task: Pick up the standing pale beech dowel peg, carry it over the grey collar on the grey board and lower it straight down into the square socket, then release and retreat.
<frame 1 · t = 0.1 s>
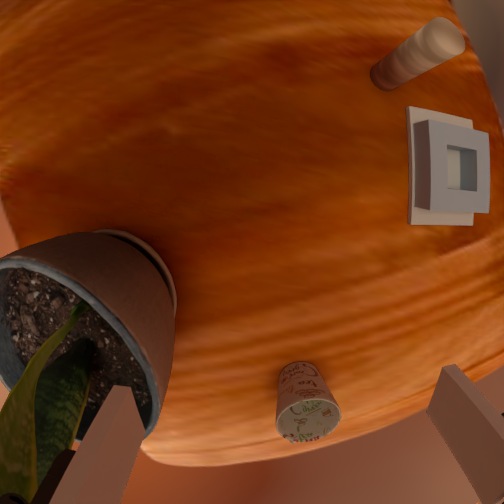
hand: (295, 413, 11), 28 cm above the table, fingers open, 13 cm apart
socket: (442, 168, 35), on the table
peg: (383, 77, 32), on the table
potted plant: (122, 293, 39), on the table
mug: (296, 386, 43), on the table
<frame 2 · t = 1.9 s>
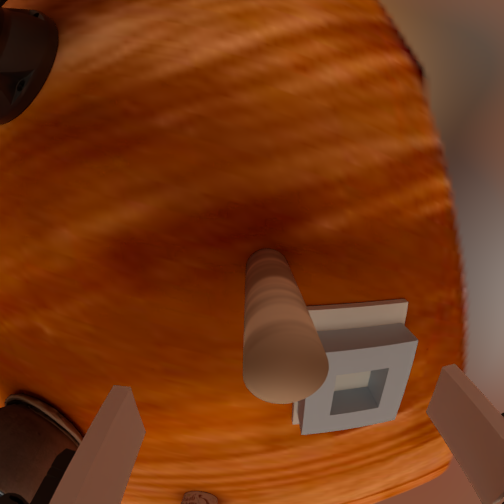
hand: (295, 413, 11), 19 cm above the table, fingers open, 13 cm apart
socket: (346, 366, 32), on the table
peg: (267, 269, 29), on the table
potted plant: (52, 430, 36), on the table
mug: (200, 501, 40), on the table
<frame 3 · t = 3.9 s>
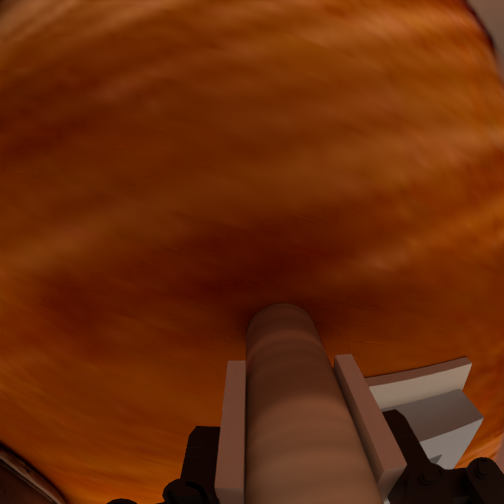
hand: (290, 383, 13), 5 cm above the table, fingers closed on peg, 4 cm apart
socket: (381, 442, 20), on the table
peg: (281, 334, 17), on the table, touching gripper
potted plant: (25, 477, 24), on the table
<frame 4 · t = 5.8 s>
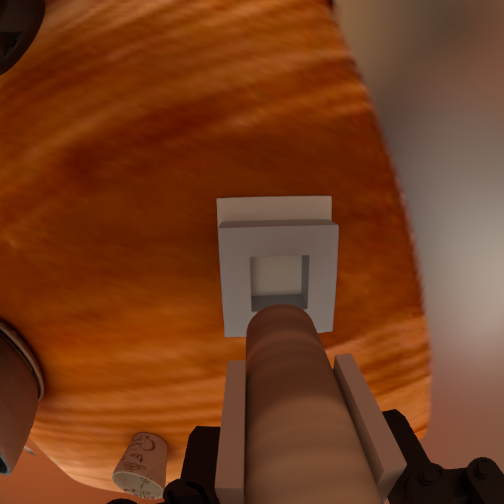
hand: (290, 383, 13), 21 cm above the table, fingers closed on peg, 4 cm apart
socket: (275, 268, 34), on the table
peg: (280, 334, 17), point 17 cm above the table, touching gripper
potted plant: (14, 361, 38), on the table
mug: (152, 449, 42), on the table
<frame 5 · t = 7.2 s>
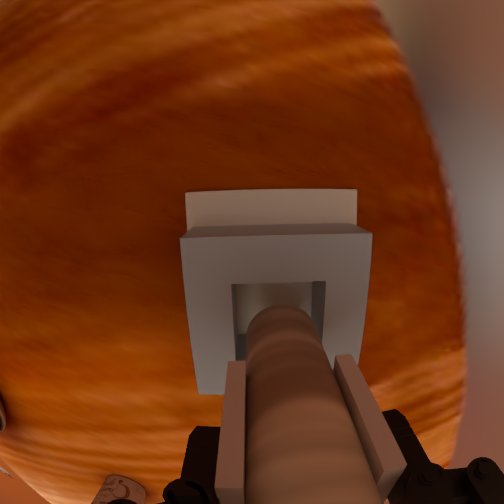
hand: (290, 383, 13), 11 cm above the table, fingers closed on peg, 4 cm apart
socket: (273, 295, 23), on the table
peg: (281, 335, 17), point 6 cm above the table, touching gripper
mug: (129, 490, 31), on the table
when the fingers open (7 cm above the table, at t = 8.2 s): peg drops 1 cm, resting on socket.
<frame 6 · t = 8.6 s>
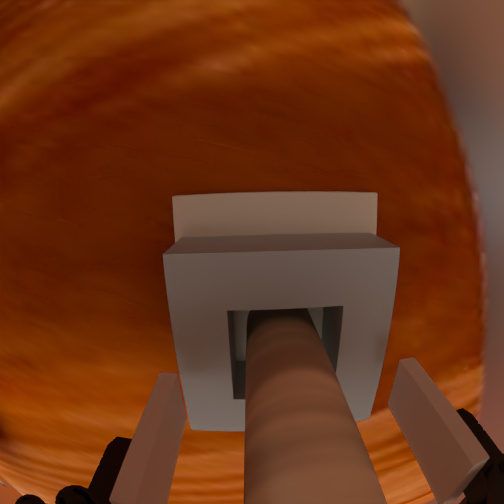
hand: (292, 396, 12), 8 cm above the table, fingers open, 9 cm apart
socket: (277, 316, 20), on the table
peg: (278, 323, 19), point 1 cm above the table, touching socket
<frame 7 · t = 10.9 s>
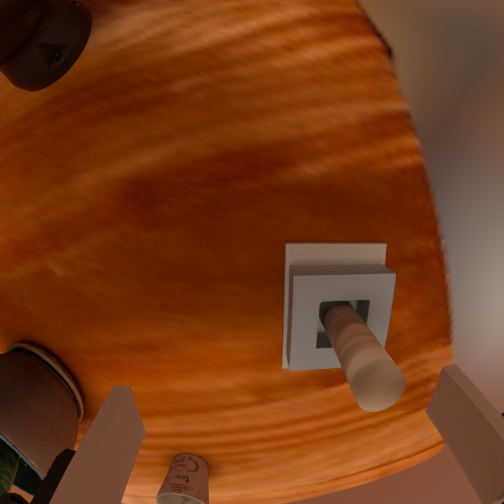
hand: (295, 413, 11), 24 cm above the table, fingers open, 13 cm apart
socket: (332, 307, 36), on the table
peg: (334, 310, 35), point 1 cm above the table, touching socket
potted plant: (49, 385, 40), on the table
mug: (191, 468, 43), on the table
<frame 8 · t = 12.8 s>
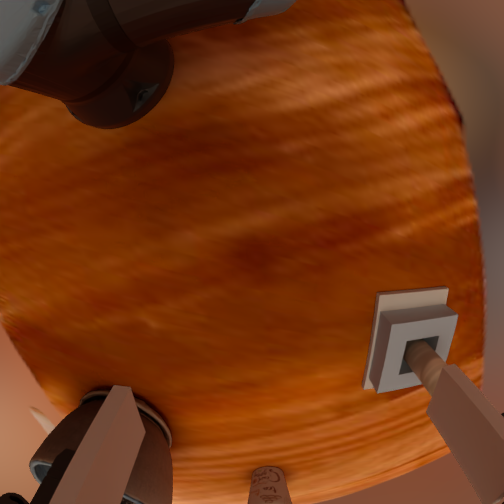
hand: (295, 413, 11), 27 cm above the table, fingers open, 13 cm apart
socket: (404, 338, 40), on the table
peg: (407, 342, 39), point 1 cm above the table, touching socket
potted plant: (128, 423, 44), on the table
mug: (266, 478, 48), on the table
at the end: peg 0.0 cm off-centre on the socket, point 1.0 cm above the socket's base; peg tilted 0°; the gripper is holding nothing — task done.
